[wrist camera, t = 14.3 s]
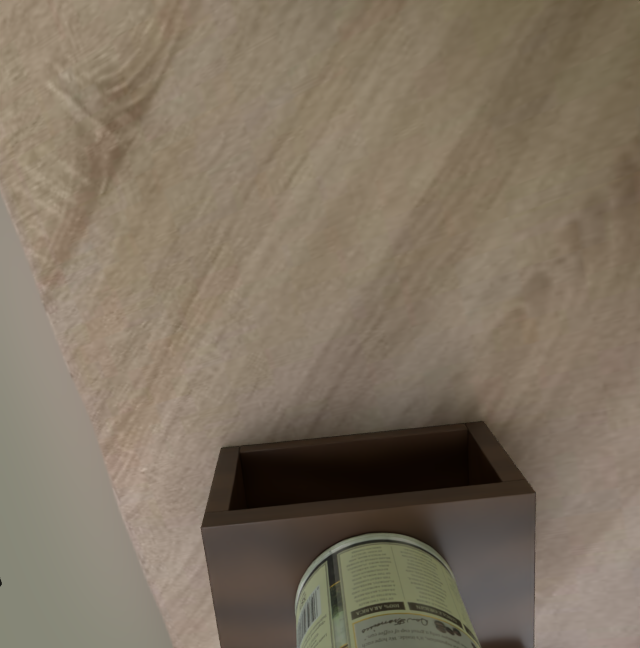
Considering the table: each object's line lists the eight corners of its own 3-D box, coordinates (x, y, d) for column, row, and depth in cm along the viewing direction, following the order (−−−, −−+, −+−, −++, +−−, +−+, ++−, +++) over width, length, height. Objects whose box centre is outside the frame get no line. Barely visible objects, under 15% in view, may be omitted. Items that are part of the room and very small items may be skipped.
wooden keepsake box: (220, 447, 44) (193, 555, 32) (483, 421, 45) (554, 517, 33) (243, 602, 48) (227, 750, 36) (485, 576, 48) (549, 713, 36)
